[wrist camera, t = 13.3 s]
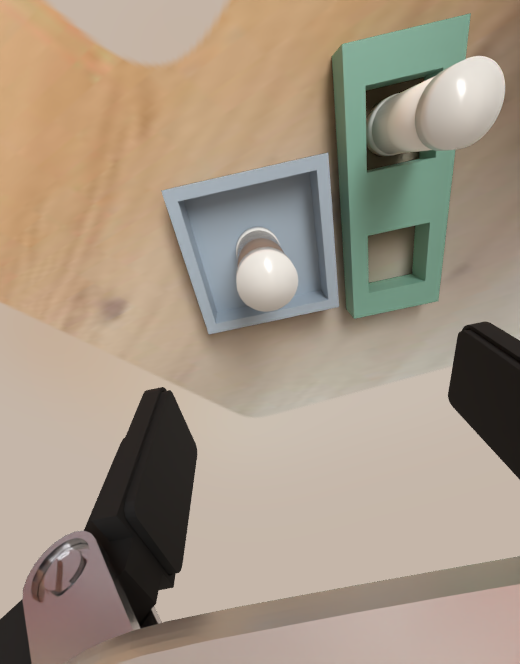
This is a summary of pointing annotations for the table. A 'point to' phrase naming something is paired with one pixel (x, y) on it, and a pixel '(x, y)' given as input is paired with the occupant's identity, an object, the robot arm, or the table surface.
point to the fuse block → (394, 180)
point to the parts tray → (250, 211)
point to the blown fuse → (264, 271)
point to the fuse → (439, 110)
